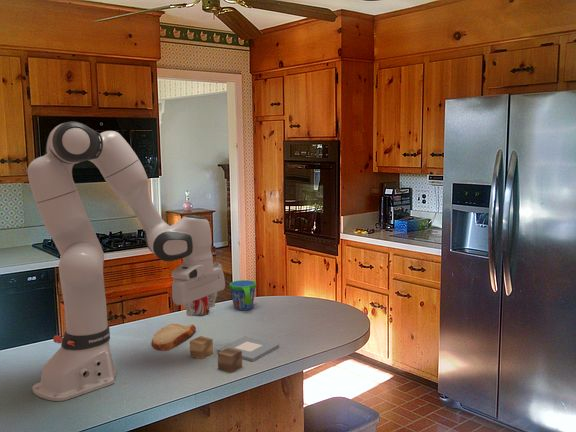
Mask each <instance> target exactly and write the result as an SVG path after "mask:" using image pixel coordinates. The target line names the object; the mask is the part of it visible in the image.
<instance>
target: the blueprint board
mask: <svg viewBox="0 0 576 432" xmlns="http://www.w3.org/2000/svg"><path fill="white" fill-rule="evenodd" d="M227 348H232V349H236V350H240V351H242V360H245V361H248V362H255V361H257V360H258V359H261V358H263V357H265V356H266V355H268V354H270V353H271V352H273V351H275V350H277V349H278V348H280V343H276V342H271V341H268V340H263V339H260V338H259V339H258V338H254V337H251V336H250V337H249V336H242V337H241V338H239V339H236V340H234V341H232V342H229V343H228V344H226V345H224V346H222V347H220V348H218V349H216V351H217V354H218V353H219V352H221V351H223V350H225V349H227Z"/></svg>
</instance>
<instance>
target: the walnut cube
mask: <svg viewBox="0 0 576 432" xmlns="http://www.w3.org/2000/svg"><path fill="white" fill-rule="evenodd" d="M242 367H243V359H242V351H240V350H236V349H232V348H227V349H225V350H223V351H221V352H219V353H217V370H220V371H224V372H228V373H230V374H231V373H234V372H235V371H237V370H239V369H241V368H242Z"/></svg>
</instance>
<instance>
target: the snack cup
mask: <svg viewBox="0 0 576 432" xmlns="http://www.w3.org/2000/svg"><path fill="white" fill-rule="evenodd" d="M256 287H257V282H255V281H254V280H247V279H243V280H242V279H240V280H234V281H231V282H230V283H229V290H230V292H231V294H230V295H231V298H232V303H233V308H234V309H235V310H237V311H249V310H251V309H252V308H254V304H255V303H254V299H255V292H256Z"/></svg>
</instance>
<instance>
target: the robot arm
mask: <svg viewBox="0 0 576 432" xmlns="http://www.w3.org/2000/svg"><path fill="white" fill-rule="evenodd" d="M87 161H89V162H91V163H92V164H94V165H95V166H96V168H97V169H98V170H99V172H100V174H101V175H102V177H103V178H104V181H105V182H106V184H107V185H108V187H110V189H111V190H112V192H114V193H115V194H116V195H117V197H119V198H120V199H121V200H122V201H124V203H126V204H127V205H128V206H129V208H131V210H132V211H133V214H134V215H135V216H136V218H137V220H138V221H139V223H140V224H141V226H142V228H143V230H144V234H145V235H144V237H145V242H146V246H147V248H148V250H149V251H150V252H151V253H153V255H154V256H156V258H158V259H160V260H161V261H163V262H174V261H178V260H180V259H181V260H182V259H183V262H182V263H181V264H179V265H178V266H177V267H176V268H175V269H174V270H172V271H171V278H173V280H172V283H171V297H172V301H173V303H174V304H175V305H179V306H183V308H184V310H186V316H187V317H192V316H194V309H192V308H191V302H192V301H195V300H198V299H200V298H203V297H205V296H208V295H209V301H208V307H210V308H213V307H215V306H216V300H217V297H218V292H222V291H223V290H225V288H226V282H225V281H226V280H225V274H224V270H223V265H222V264H221V263H220V262H219V261H213V260H214V258H213V253H212V242H213V239H212V231H211V225H210V221H209V220H208V219H207V218H206V217H205V216H202V215H196V214H186V215H183V216H182V218H181V219H179V220H178V221H176V222H175V223H173V224H169V223H168V222H166V221H165V220H164V219H163V218H162V217H161V214H160V212H159V211H158V209H157V208H156V206H155V204H154V203H153V201H152V199H151V197H150V194H149V177H148V175H147V173H146V170H145V168H144V166H143V164H142V162H141V160H140V159H139V157H138V155H137V154H136V152H135V150H133V148H132V146H131V145H130V144H129V142H127V140H126V139H125V138H124V137H123V136H122V135H121V133H119V132H118V131H114V130H106V131H103V132H98V131H96V130H94V129H93V128H91V127H89V126H87V124H84V123H81V122H78V121H66V122H63V123H60V124H58V125H56V126H55V127H54V128H53V129H52V130H51V131H50V132H49V134H48V137H47V139H46V143H45V150H44V154H43V155H42V156H39V157H36V158H35V159H33V160H32V161H31V162H30V163H29V164H28V167H27V168H26V169H27V172H26V173H27V177H28V181H29V182H28V183H29V187H30V190H31V194H32V196H33V199H34V202H35V204H36V207H37V209H38V212H39V214H40V217H41V220H42V222H43V224H44V227H45V229H46V231H47V233H48V234H49V236H50V237H51V239H52V241H53V243H54V245H55V247H56V249H57V251H58V253H59V256H60V260H59V262H58V274H59V280H60V281H59V283H60V289H61V294H62V299H63V308H64V319H65V320H64V321H65V322H64V323H65V331H64V334H63V336H61V335H58V334H56V335H54V336H53V338H52V340H53V342H54V343H56V344H61V345H60V348H59V349H58V350H57V351H55V353H54V354H53V355H52V357H51V358H49V360H48V361H47V362H45V364H44V365H43V366H42V369H41V372H40V373H41V374H40V375H41V376H40V381H39V382H37V383H35V384H34V385H32V393H33V394H34V395H35V396H37V397H40V398H41V399H43V400H46V401H47V400H48V401H53V402H54V401H55V402H63V401H68V400H69V399H72V398H76V397H78V396H81V395H85V394H87V393H90V392H93V391H96V390H99V389H101V388H104V387H108V386H110V385H112V384H114V383H115V377H116V376H117V374H118V372H117V369H116V367H115V364H114V360H113V358H112V352H111V346H110V340H111V331H110V330H111V329H110V326H109V325H108V313H107V311H108V310H107V299H106V289H105V279H104V262H105V260H104V259H105V253H104V250H103V247H102V245H101V243H100V240H99V238H98V237H97V236H98V235H97V234H96V232H95V230H94V227H93V225H92V223H91V221H90V219H89V216H88V214H87V212H86V209H85V207H84V204H83V201H82V198H81V196H80V193H79V190H78V188H77V185H76V184H75V183H76V182H75V181H74V178H73V168H74V165H76V164H78V163H82V162H87Z"/></svg>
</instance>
